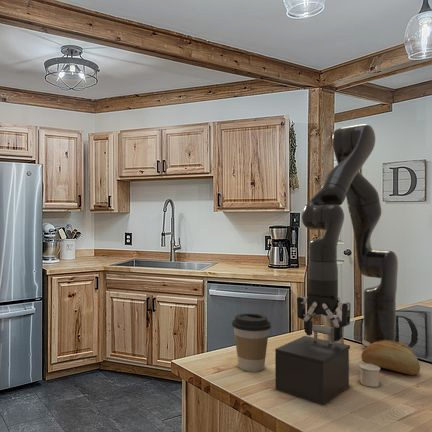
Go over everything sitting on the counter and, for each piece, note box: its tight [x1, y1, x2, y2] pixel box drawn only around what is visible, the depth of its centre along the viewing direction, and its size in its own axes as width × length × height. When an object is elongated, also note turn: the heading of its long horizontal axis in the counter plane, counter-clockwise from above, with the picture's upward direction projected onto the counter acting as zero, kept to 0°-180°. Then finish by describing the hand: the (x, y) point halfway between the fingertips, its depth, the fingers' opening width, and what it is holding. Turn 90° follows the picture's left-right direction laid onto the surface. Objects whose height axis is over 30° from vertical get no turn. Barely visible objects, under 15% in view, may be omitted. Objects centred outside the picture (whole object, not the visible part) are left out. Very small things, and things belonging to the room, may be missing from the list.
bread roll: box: [361, 340, 421, 376], centre depth 125 cm, size 10×15×8 cm, turn 51°
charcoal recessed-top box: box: [274, 349, 350, 406], centre depth 113 cm, size 16×13×10 cm
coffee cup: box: [231, 312, 272, 373], centre depth 128 cm, size 11×11×15 cm
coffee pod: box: [358, 363, 381, 388], centre depth 115 cm, size 5×5×4 cm
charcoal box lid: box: [274, 323, 351, 364], centre depth 113 cm, size 16×13×5 cm
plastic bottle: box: [321, 296, 345, 344], centre depth 131 cm, size 6×7×20 cm
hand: (322, 337), depth 117 cm, fingers open, 7 cm apart
